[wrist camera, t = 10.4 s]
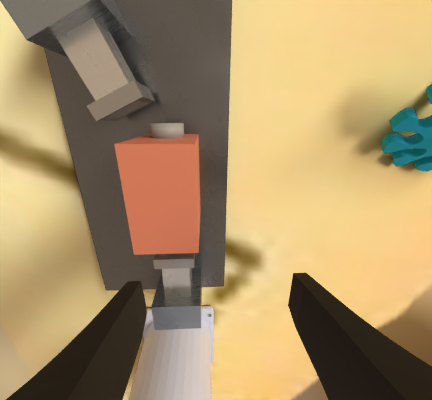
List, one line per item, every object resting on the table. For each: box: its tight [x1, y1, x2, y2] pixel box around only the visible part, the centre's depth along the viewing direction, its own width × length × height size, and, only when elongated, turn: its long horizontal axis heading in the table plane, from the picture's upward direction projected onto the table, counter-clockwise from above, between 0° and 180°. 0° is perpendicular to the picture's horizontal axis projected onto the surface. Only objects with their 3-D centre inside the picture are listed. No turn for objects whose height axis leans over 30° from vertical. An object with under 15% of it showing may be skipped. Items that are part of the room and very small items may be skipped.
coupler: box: [114, 123, 200, 255], centre depth 13 cm, size 8×4×6 cm, turn 0°
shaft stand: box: [0, 0, 232, 330], centre depth 14 cm, size 24×12×6 cm, turn 0°
